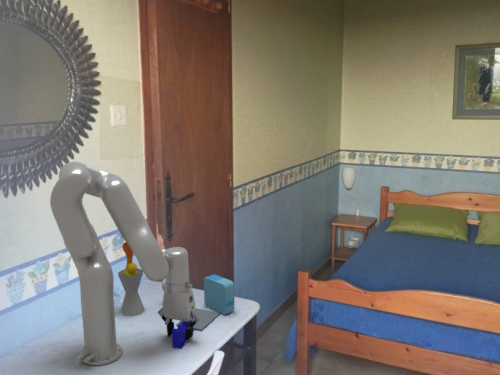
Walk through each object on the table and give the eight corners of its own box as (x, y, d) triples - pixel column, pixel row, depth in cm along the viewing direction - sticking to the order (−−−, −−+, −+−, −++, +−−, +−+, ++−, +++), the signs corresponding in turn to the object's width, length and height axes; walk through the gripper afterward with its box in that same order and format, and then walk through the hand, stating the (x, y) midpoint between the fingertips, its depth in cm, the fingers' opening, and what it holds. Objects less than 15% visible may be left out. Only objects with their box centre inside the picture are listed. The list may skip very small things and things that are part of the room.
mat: (201, 331, 171) (201, 329, 171) (176, 326, 175) (176, 324, 175) (220, 314, 184) (220, 312, 184) (195, 309, 188) (195, 308, 187)
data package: (234, 312, 185) (234, 281, 183) (225, 316, 182) (225, 285, 180) (213, 302, 194) (212, 273, 191) (204, 306, 190) (203, 276, 188)
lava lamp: (115, 310, 188) (109, 219, 181) (137, 303, 193) (132, 215, 187) (127, 318, 181) (122, 224, 174) (149, 310, 187) (145, 219, 180)
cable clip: (180, 329, 172) (180, 313, 171) (193, 331, 171) (192, 314, 170) (168, 347, 161) (167, 330, 160) (181, 349, 160) (180, 331, 159)
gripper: (206, 285, 162) (208, 336, 166) (161, 277, 169) (163, 327, 173) (195, 294, 156) (197, 347, 159) (148, 286, 162) (151, 337, 166)
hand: (180, 336), depth 166 cm, fingers open, 6 cm apart
